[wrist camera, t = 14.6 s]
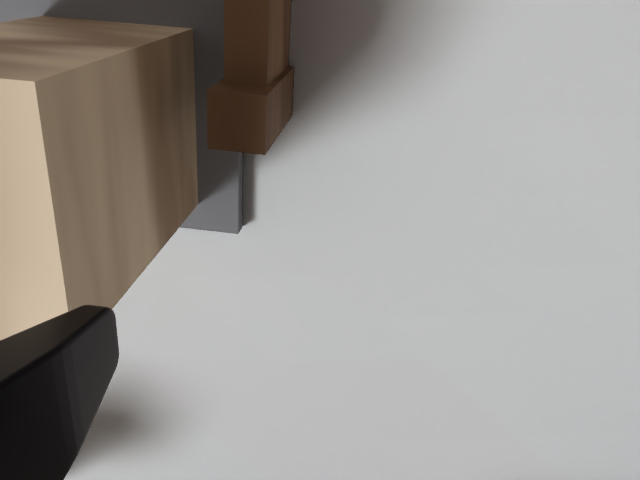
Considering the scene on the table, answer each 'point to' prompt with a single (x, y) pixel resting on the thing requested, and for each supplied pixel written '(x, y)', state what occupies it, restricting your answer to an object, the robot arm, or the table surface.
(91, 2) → the panel
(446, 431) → the table surface
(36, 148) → the block
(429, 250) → the table surface
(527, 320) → the table surface
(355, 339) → the table surface
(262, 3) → the wooden frame
